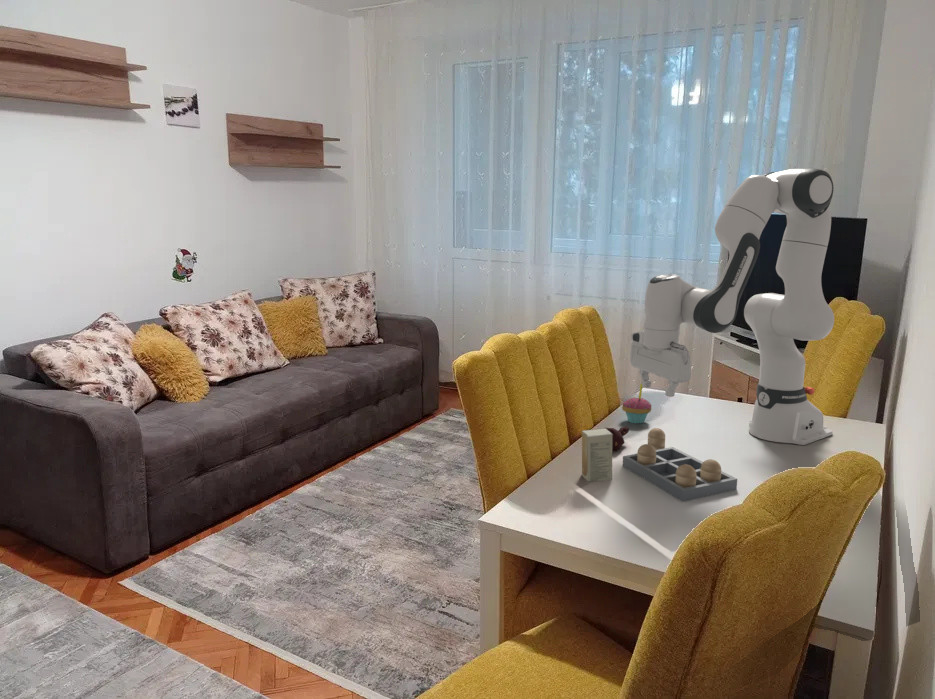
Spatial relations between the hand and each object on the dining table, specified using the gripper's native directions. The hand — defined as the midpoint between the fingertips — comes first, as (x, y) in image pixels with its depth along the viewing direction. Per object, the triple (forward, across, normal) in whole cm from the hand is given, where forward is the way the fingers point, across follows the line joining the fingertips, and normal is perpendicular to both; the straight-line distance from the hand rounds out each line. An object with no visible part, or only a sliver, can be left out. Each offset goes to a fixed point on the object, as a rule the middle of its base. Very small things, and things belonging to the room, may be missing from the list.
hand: (657, 391), depth 173 cm
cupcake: (+16, +22, -10) cm, 29 cm away
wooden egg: (+16, 0, 0) cm, 16 cm away
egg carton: (+16, -18, +8) cm, 26 cm away
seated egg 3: (+15, -25, +4) cm, 30 cm away
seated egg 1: (+15, -11, +11) cm, 22 cm away
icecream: (+17, +4, +11) cm, 21 cm away
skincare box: (+17, -10, +24) cm, 31 cm away
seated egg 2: (+15, -25, +11) cm, 31 cm away
